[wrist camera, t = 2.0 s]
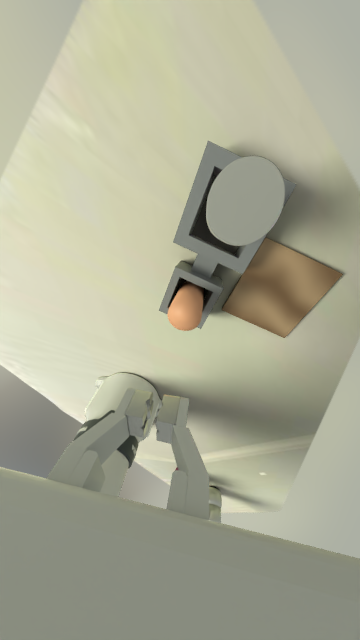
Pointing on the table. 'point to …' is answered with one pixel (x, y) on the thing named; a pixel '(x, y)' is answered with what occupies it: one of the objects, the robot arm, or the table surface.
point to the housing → (207, 252)
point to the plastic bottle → (215, 505)
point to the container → (245, 200)
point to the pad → (279, 288)
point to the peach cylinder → (187, 307)
